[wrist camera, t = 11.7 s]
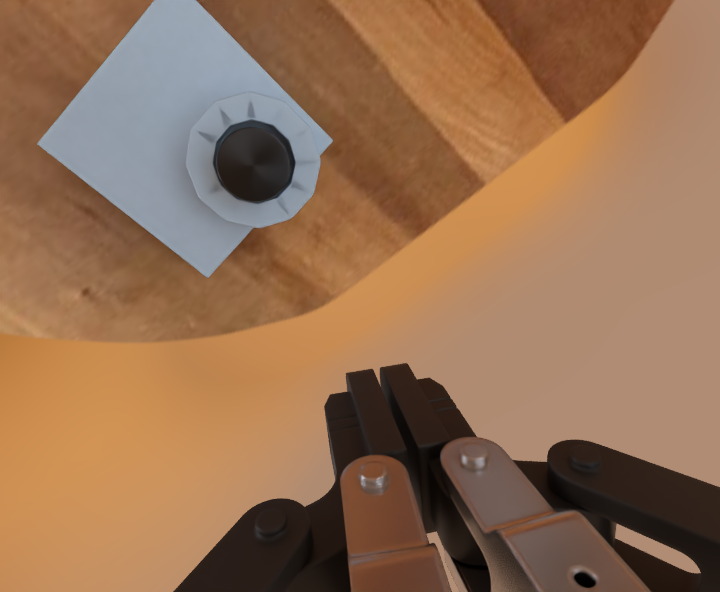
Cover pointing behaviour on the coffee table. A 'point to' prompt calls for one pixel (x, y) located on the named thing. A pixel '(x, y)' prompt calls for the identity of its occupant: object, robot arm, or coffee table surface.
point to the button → (253, 164)
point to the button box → (183, 133)
